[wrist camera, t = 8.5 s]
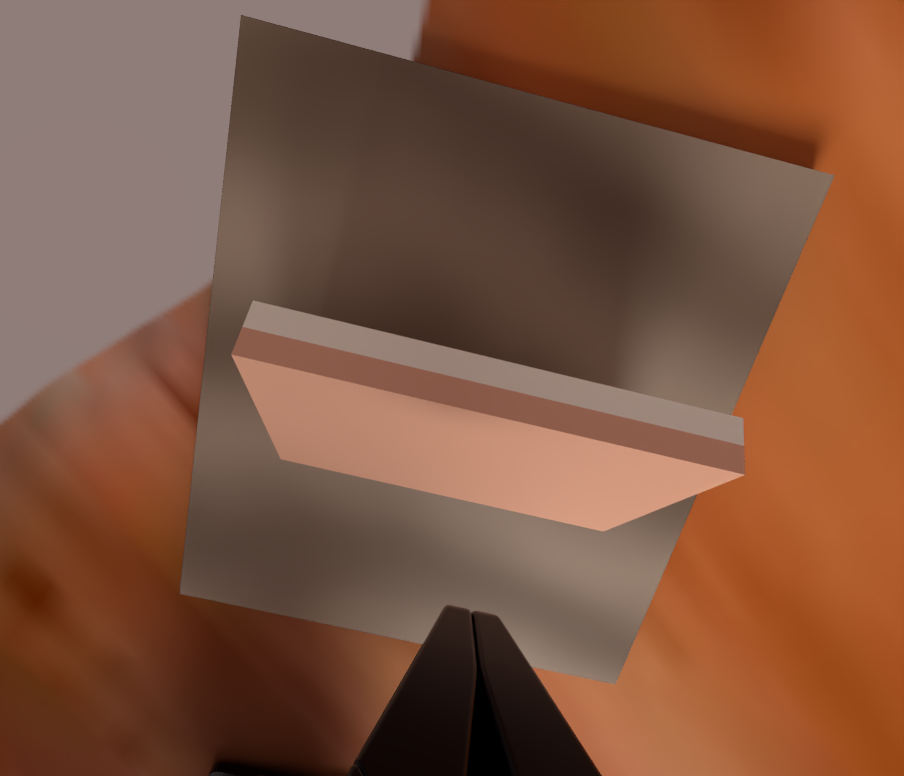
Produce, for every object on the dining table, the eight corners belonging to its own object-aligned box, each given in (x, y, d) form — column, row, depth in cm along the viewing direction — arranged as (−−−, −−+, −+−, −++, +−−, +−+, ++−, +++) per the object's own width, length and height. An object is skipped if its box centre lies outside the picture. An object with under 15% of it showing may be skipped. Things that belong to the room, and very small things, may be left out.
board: (608, 662, 22) (615, 684, 21) (192, 575, 21) (179, 593, 20) (812, 176, 16) (834, 175, 15) (255, 26, 15) (241, 15, 14)
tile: (744, 474, 11) (742, 418, 11) (231, 354, 10) (252, 300, 11) (603, 531, 17) (606, 493, 18) (280, 459, 17) (293, 422, 17)
